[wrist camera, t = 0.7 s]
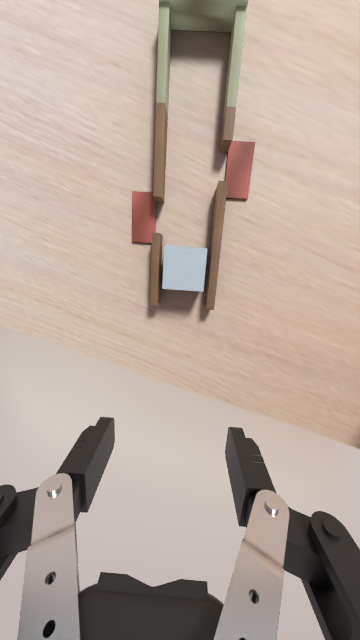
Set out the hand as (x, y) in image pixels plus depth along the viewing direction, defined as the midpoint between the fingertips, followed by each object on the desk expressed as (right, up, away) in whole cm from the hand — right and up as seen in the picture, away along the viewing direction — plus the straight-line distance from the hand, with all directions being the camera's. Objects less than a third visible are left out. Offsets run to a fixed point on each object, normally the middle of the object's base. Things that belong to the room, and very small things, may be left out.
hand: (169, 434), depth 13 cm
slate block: (+1, +14, +17) cm, 22 cm away
